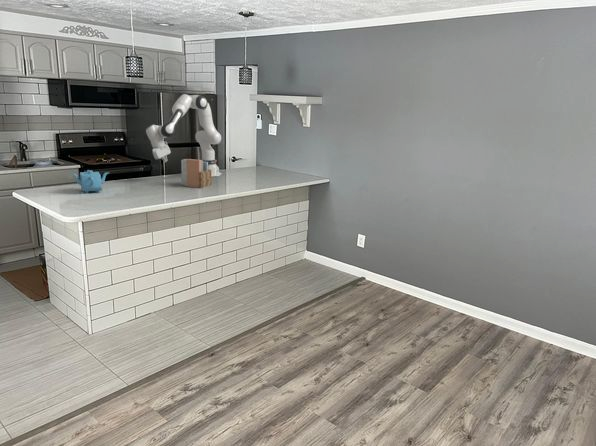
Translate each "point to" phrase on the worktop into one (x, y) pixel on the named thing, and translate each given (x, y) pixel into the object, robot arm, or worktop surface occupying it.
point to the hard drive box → (184, 170)
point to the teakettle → (90, 181)
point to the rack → (205, 178)
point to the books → (194, 172)
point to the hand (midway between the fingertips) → (166, 161)
